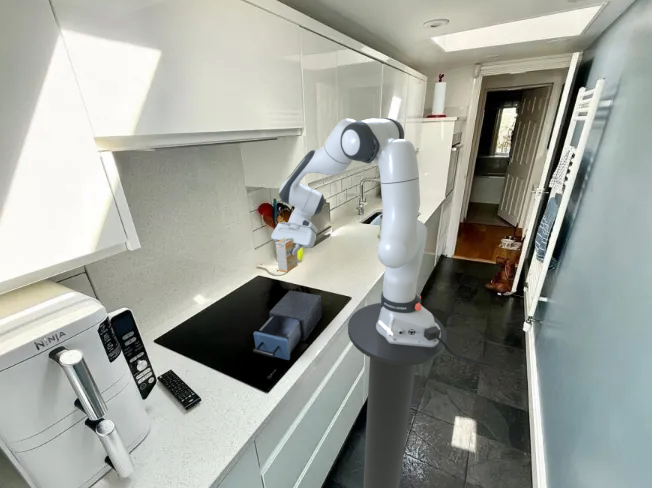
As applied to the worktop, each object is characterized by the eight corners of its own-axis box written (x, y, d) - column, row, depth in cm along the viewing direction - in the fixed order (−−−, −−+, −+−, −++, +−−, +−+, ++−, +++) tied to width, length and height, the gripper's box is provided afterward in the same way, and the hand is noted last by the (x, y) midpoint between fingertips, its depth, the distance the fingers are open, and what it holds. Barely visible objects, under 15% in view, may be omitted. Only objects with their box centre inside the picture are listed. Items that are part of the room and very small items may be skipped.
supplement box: (287, 273, 127) (284, 243, 121) (278, 271, 129) (275, 242, 124) (298, 265, 134) (296, 237, 128) (289, 263, 136) (286, 235, 130)
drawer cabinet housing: (305, 341, 110) (303, 319, 106) (271, 333, 115) (269, 312, 110) (321, 316, 124) (321, 295, 119) (291, 310, 128) (289, 290, 124)
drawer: (281, 370, 96) (279, 351, 93) (248, 361, 100) (244, 342, 97) (307, 332, 113) (306, 314, 109) (278, 325, 117) (276, 308, 114)
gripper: (275, 217, 133) (263, 246, 130) (315, 223, 123) (302, 254, 120) (282, 224, 139) (271, 252, 136) (321, 230, 129) (309, 260, 126)
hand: (286, 253), depth 128 cm, fingers closed on supplement box, 5 cm apart
